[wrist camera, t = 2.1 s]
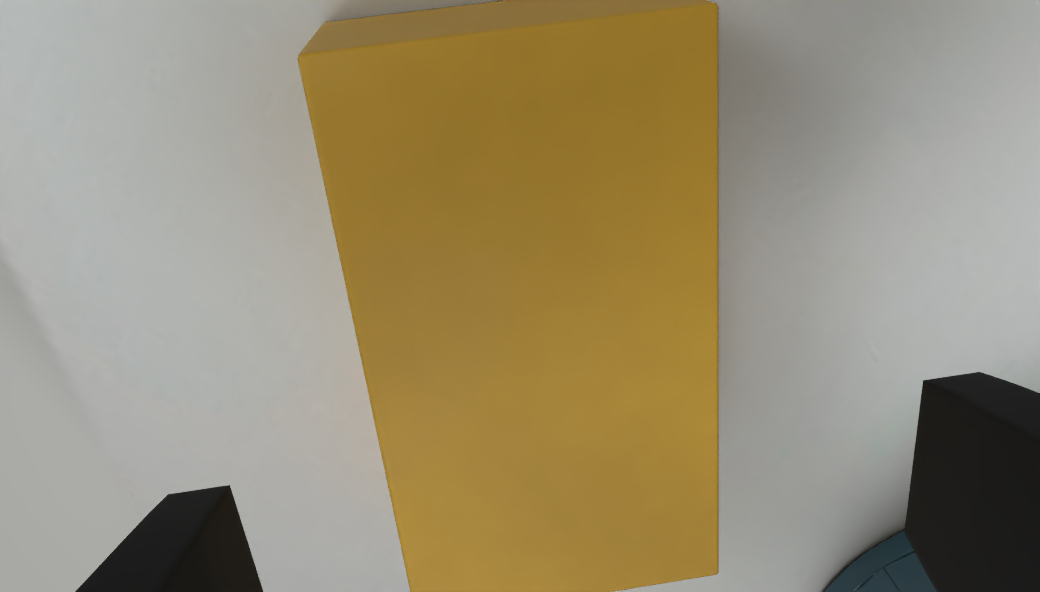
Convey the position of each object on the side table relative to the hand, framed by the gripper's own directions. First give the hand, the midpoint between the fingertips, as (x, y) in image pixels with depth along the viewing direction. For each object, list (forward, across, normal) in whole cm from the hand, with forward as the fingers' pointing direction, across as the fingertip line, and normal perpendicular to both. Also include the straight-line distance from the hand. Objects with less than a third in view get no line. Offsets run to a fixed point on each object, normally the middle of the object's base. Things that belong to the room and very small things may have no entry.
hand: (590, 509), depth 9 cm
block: (+6, 0, 0) cm, 6 cm away
